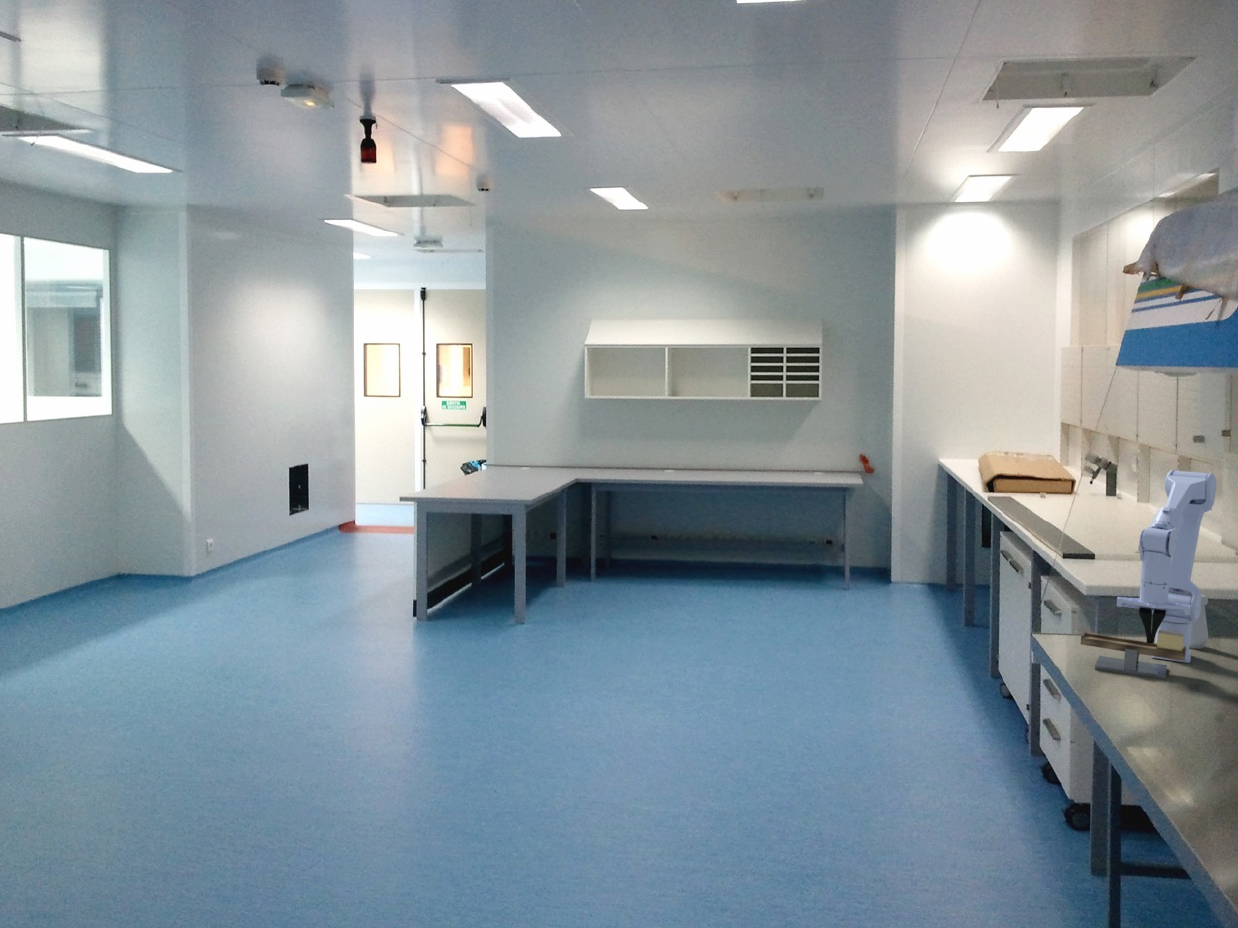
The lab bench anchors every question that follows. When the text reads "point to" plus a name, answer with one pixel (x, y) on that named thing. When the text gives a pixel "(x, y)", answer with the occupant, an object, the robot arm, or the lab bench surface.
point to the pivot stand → (1131, 665)
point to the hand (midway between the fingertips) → (1150, 642)
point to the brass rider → (1170, 641)
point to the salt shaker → (1199, 628)
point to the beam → (1129, 646)
